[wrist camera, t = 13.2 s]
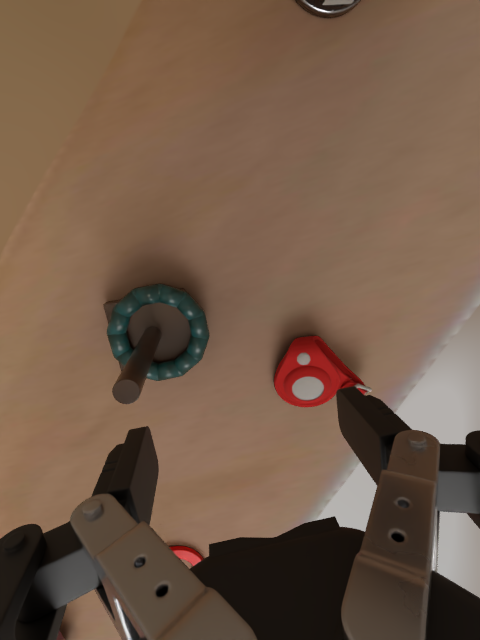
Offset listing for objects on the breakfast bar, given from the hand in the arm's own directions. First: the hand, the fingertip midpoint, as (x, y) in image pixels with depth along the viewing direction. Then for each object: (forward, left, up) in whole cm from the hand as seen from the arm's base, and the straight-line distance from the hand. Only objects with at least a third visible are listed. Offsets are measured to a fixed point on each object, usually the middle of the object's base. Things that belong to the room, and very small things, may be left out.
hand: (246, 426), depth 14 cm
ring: (+2, -7, -25) cm, 26 cm away
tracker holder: (+12, +11, -28) cm, 33 cm away
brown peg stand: (+2, -8, -28) cm, 29 cm away
